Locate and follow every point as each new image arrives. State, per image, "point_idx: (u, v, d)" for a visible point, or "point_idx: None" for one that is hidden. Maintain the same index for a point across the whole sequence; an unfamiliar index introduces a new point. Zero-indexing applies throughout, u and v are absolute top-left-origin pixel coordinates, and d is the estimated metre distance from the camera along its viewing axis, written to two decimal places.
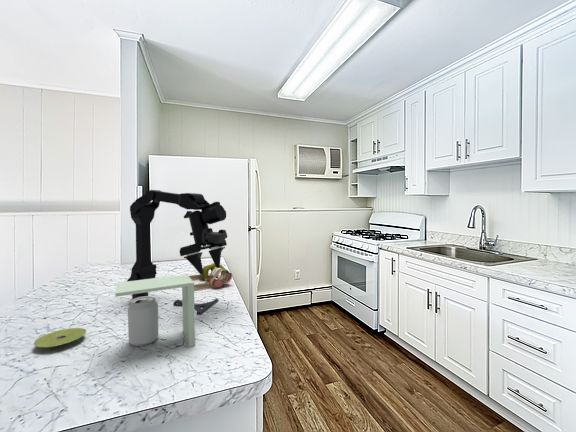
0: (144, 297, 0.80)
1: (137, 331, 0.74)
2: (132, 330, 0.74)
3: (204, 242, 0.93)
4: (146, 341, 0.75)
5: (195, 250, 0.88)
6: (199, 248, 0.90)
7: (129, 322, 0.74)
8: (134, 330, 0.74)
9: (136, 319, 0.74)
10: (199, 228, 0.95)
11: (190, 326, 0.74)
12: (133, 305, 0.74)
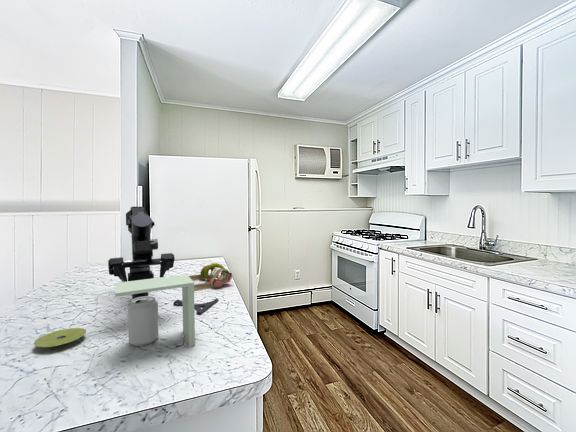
0: (144, 297, 0.80)
1: (137, 331, 0.74)
2: (132, 330, 0.74)
3: (132, 255, 0.87)
4: (146, 341, 0.75)
5: (112, 262, 0.83)
6: (119, 260, 0.84)
7: (129, 322, 0.74)
8: (134, 330, 0.74)
9: (136, 319, 0.74)
10: (133, 244, 0.91)
11: (190, 326, 0.74)
12: (133, 305, 0.74)
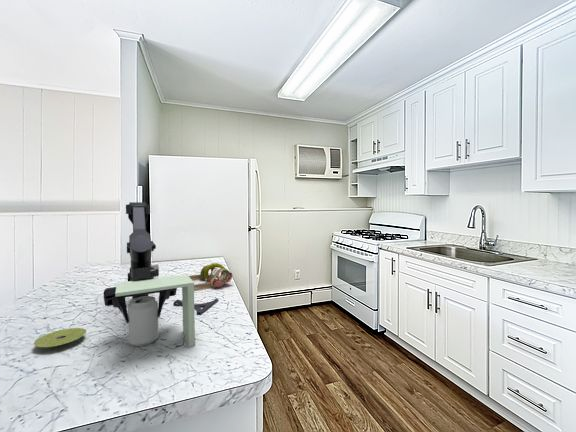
0: (144, 297, 0.80)
1: (137, 331, 0.74)
2: (132, 330, 0.74)
3: None
4: (146, 341, 0.75)
5: (107, 293, 0.75)
6: None
7: (129, 322, 0.74)
8: (134, 330, 0.74)
9: (136, 319, 0.74)
10: None
11: (190, 326, 0.74)
12: (133, 305, 0.74)
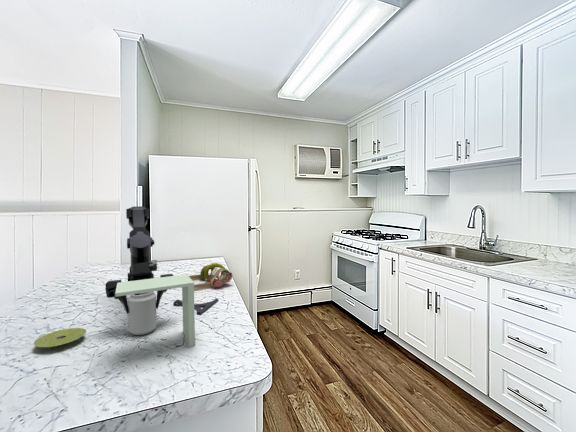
0: None
1: (137, 321, 0.79)
2: (132, 320, 0.80)
3: (130, 277, 0.84)
4: (145, 330, 0.80)
5: (109, 285, 0.80)
6: None
7: (129, 313, 0.80)
8: (134, 320, 0.80)
9: (136, 310, 0.79)
10: None
11: (190, 326, 0.74)
12: (133, 297, 0.80)
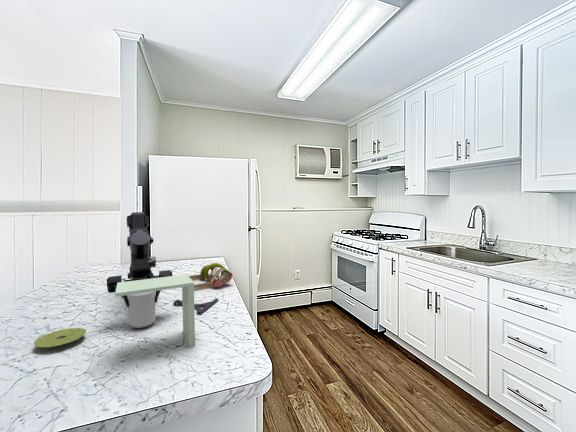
0: None
1: (137, 314, 0.83)
2: (132, 313, 0.84)
3: (130, 273, 0.88)
4: (144, 323, 0.84)
5: (110, 280, 0.84)
6: (118, 278, 0.86)
7: (129, 306, 0.84)
8: (133, 313, 0.83)
9: (135, 304, 0.83)
10: None
11: (190, 326, 0.74)
12: None
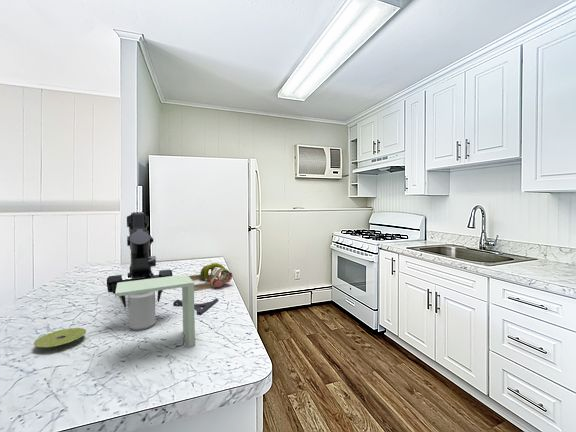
0: None
1: (136, 316, 0.83)
2: (132, 315, 0.84)
3: (130, 273, 0.88)
4: (144, 325, 0.84)
5: (110, 280, 0.84)
6: (118, 278, 0.85)
7: (129, 309, 0.84)
8: (133, 316, 0.83)
9: (135, 306, 0.83)
10: None
11: (190, 326, 0.74)
12: (133, 294, 0.84)
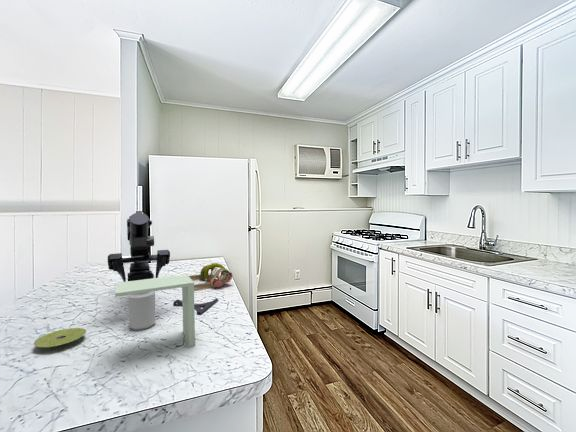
0: None
1: (136, 316, 0.83)
2: (132, 315, 0.84)
3: (130, 251, 0.93)
4: (144, 325, 0.84)
5: (111, 257, 0.89)
6: (118, 256, 0.90)
7: (129, 309, 0.84)
8: (133, 315, 0.83)
9: (135, 306, 0.83)
10: (132, 241, 0.97)
11: (190, 326, 0.74)
12: None
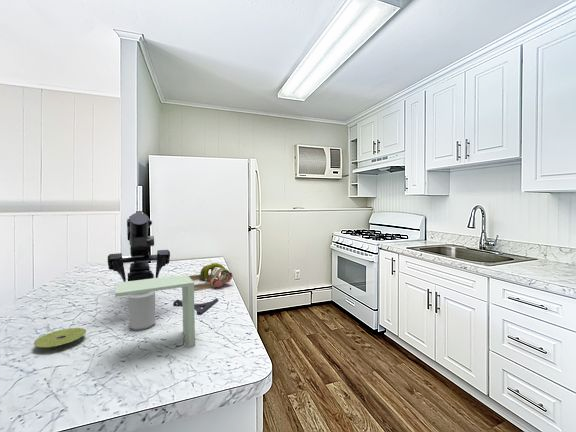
0: None
1: (136, 316, 0.83)
2: (132, 315, 0.84)
3: (130, 251, 0.93)
4: (144, 325, 0.84)
5: (111, 257, 0.89)
6: (118, 256, 0.90)
7: (129, 309, 0.84)
8: (133, 315, 0.83)
9: (135, 306, 0.83)
10: (132, 241, 0.97)
11: (190, 326, 0.74)
12: (133, 294, 0.84)
